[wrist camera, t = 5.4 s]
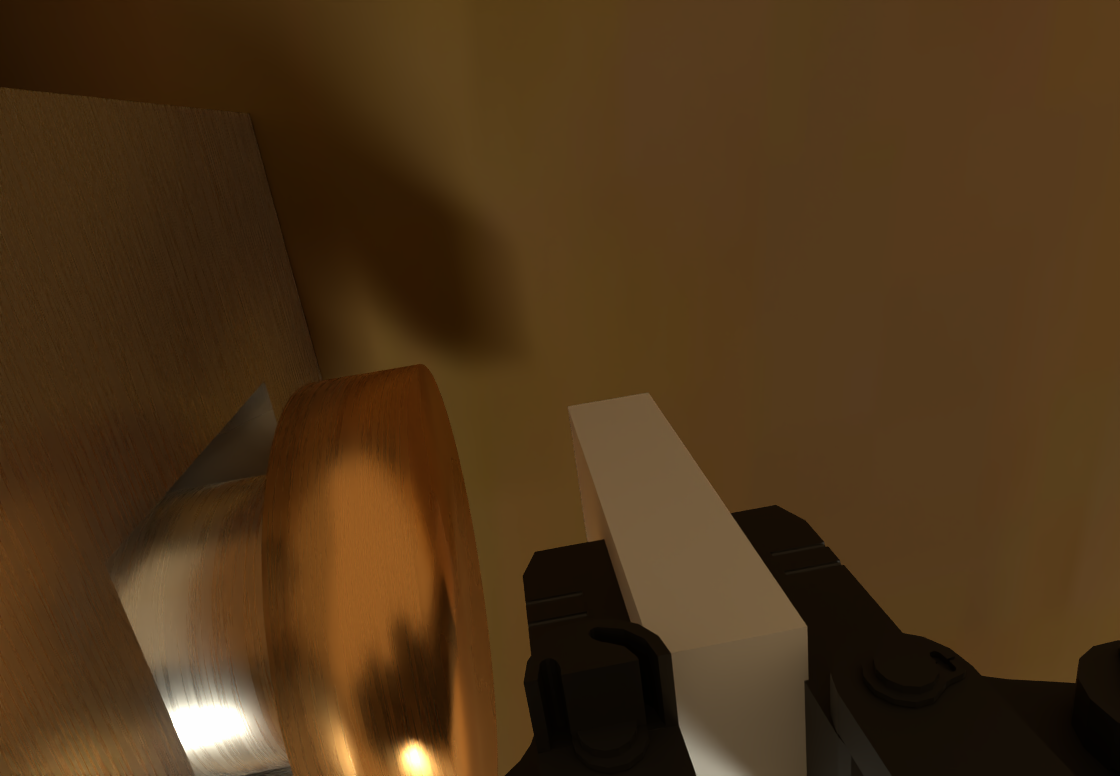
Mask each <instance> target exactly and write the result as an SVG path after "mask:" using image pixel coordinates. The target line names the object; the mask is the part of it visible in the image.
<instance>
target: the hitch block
mask: <svg viewBox="0 0 1120 776" xmlns="http://www.w3.org/2000/svg"><path fill="white" fill-rule="evenodd" d="M317 381H322V378H321V374H320V371H319V367H318V363H317V360H316V356H315V352H314V349H313V345H312V341H311V338H310V334H309V330H308V327H307V323H306V319H305V316H304V312H303V309H302V305H301V301H300V298H299V294H298V290H297V287H296V283H295V279H294V276H293V272H292V268H291V265H290V261H289V258H288V254H287V250H286V247H285V243H284V239H283V236H282V232H281V228H280V225H279V221H278V217H277V214H276V210H275V207H274V203H273V199H272V196H271V192H270V188H269V185H268V181H267V177H266V174H265V170H264V166H263V163H262V159H261V156H260V152H259V148H258V145H257V141H256V137H255V134H254V130H253V126H252V123H251V119H250V115H249V114H248V113H239V112H229V111H220V110H210V109H201V108H191V107H182V106H172V105H163V104H154V103H144V102H135V101H125V100H116V99H106V98H97V97H87V96H78V95H68V94H59V93H50V92H40V91H31V90H21V89H12V88H2V87H0V776H195V773H194V771H193V769H192V766H191V764H190V762H189V759H188V757H187V755H186V752H185V750H184V748H183V745H182V743H181V741H180V738H179V736H178V734H177V731H176V729H175V727H174V724H173V722H172V720H171V717H170V715H169V713H168V710H167V708H166V706H165V703H164V701H163V699H162V696H161V694H160V692H159V689H158V687H157V685H156V682H155V680H154V678H153V675H152V673H151V671H150V668H149V666H148V664H147V661H146V659H145V657H144V654H143V652H142V650H141V647H140V645H139V643H138V640H137V638H136V636H135V633H134V631H133V629H132V626H131V624H130V622H129V619H128V617H127V615H126V612H125V610H124V608H123V605H122V603H121V601H120V598H119V596H118V594H117V591H116V589H115V587H114V584H113V582H112V580H111V577H110V575H109V573H108V570H107V568H106V566H105V562H106V561H107V560H108V558H109V557H110V556H111V555H112V554H113V553H114V552H115V550H116V549H117V548H118V547H119V546H120V545H121V544H122V542H123V541H124V540H125V539H126V538H127V537H128V536H129V534H130V533H131V532H132V531H133V530H134V529H135V528H136V527H137V525H138V524H139V523H140V522H141V521H142V520H143V519H144V517H145V516H146V515H147V514H148V513H149V512H150V511H151V509H152V508H153V507H154V506H155V505H156V504H157V503H158V501H159V500H160V499H161V498H162V497H163V496H164V495H165V494H166V492H169V491H175V490H181V489H186V488H192V487H198V486H204V485H209V484H215V483H221V482H227V481H232V480H238V479H244V478H249V477H255V476H261V475H266V474H267V467H268V461H269V455H270V450H271V446H272V442H273V438H274V434H275V430H276V427H277V424H278V421H279V419H280V416H281V413H282V411H283V408H284V407H285V405H286V403H287V401H288V400H289V398H290V396H291V395H292V394H293V393H294V392H295V391H296V390H297V389H298V388H299V387H300V386H302V385H304V384H306V383H311V382H317ZM242 776H293V773H292V770H291V767H290V766H288V767H283V768H277V769H272V770H267V771H262V772H257V773H252V774H247V775H242Z"/></svg>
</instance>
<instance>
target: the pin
mask: <svg viewBox="0 0 1120 776" xmlns="http://www.w3.org/2000/svg"><path fill="white" fill-rule="evenodd" d="M105 566H106V568H107V570H108V573H109V575H110V577H111V580H112V582H113V584H114V587H115V589H116V591H117V594H118V596H119V598H120V601H121V603H122V605H123V608H124V610H125V612H126V615H127V617H128V619H129V622H130V624H131V626H132V629H133V631H134V633H135V636H136V638H137V640H138V643H139V645H140V647H141V650H142V652H143V654H144V657H145V659H146V661H147V664H148V666H149V668H150V671H151V673H152V675H153V678H154V680H155V682H156V685H157V687H158V689H159V692H160V694H161V696H162V699H163V701H164V703H165V706H166V708H167V710H168V713H169V715H170V717H171V720H172V722H173V724H174V727H175V729H176V731H177V734H178V736H179V738H180V741H181V743H182V745H183V748H184V750H185V752H186V755H187V757H188V759H189V762H190V764H191V766H192V769H193V771H194V773H195V776H242V775H247V774H252V773H257V772H262V771H267V770H272V769H277V768H283V767H288V766H290V767H291V770H292V773H293V776H498V753H497V725H496V709H495V695H494V683H493V672H492V661H491V651H490V642H489V633H488V625H487V617H486V609H485V602H484V594H483V587H482V580H481V573H480V567H479V560H478V554H477V548H476V542H475V536H474V530H473V525H472V519H471V514H470V508H469V503H468V498H467V493H466V488H465V483H464V479H463V474H462V470H461V465H460V461H459V456H458V452H457V448H456V444H455V440H454V436H453V433H452V429H451V425H450V422H449V418H448V415H447V411H446V408H445V405H444V402H443V399H442V396H441V394H440V391H439V389H438V386H437V384H436V382H435V379H434V377H433V375H432V374H431V372H430V371H429V369H428V368H427V367H426V366H425V365H423V364H418V365H412V366H406V367H400V368H394V369H388V370H382V371H376V372H370V373H364V374H358V375H352V376H346V377H340V378H335V379H329V380H323V381H317V382H311V383H306V384H304V385H302V386H300V387H299V388H298V389H297V390H296V391H295V392H294V393H293V394H292V395H291V396H290V398H289V400H288V401H287V403H286V405H285V407H284V408H283V411H282V413H281V416H280V419H279V421H278V424H277V427H276V430H275V434H274V438H273V442H272V446H271V450H270V455H269V461H268V467H267V474H266V475H261V476H255V477H249V478H244V479H238V480H232V481H227V482H221V483H215V484H209V485H204V486H198V487H192V488H186V489H181V490H175V491H169V492H166V494H165V495H164V496H163V497H162V498H161V499H160V500H159V501H158V503H157V504H156V505H155V506H154V507H153V508H152V509H151V511H150V512H149V513H148V514H147V515H146V516H145V517H144V519H143V520H142V521H141V522H140V523H139V524H138V525H137V527H136V528H135V529H134V530H133V531H132V532H131V533H130V534H129V536H128V537H127V538H126V539H125V540H124V541H123V542H122V544H121V545H120V546H119V547H118V548H117V549H116V550H115V552H114V553H113V554H112V555H111V556H110V557H109V558H108V560H107V561H106V562H105Z"/></svg>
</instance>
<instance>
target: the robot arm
mask: <svg viewBox="0 0 1120 776" xmlns="http://www.w3.org/2000/svg"><path fill="white" fill-rule="evenodd" d="M568 413H569V419H570V426H571V433H572V440H573V447H574V453H575V460H576V467H577V474H578V481H579V487H580V494H581V501H582V508H583V515H584V522H585V528H586V535H587V539H588V542H586V543H581V544H575V545H570V546H564V547H559V548H554V549H548V550H543V551H537V552H535V553H534V555H533V557H532V559H531V561H530V563H529V565H528V567H527V569H526V571H525V573H524V575H523V582H524V591H525V601H526V610H527V619H528V626H529V638H530V647H531V657H530V658H529V660H528V661H527V666H526V672H525V678H524V687H525V692H526V697H527V702H528V707H529V712H530V717H531V722H532V727H533V732H534V737H533V740H532V743H531V745H530V747H529V748H528V750H527V751H526V753H525V754H524V756H523V757H522V759H521V760H520V761H519V762H518V763H517V764H516V765H515V766H514V767H513V768H512V769H511V770H510V771H509V772H508V773H507V774H506V775H505V776H1120V640H1118V641H1113V642H1109V643H1105V644H1101V645H1097V646H1093V647H1092V648H1091V649H1090V650H1089V651H1087V652H1086V653H1085V654H1084V655H1083V656H1082V657H1081V658H1080V659H1079V664H1078V671H1077V678H1076V683H1064V682H1047V681H1029V680H1011V679H1001V678H994V677H986V676H981V675H980V674H979V673H978V672H977V670H976V669H975V668H974V667H973V666H972V665H971V664H969V663H968V662H967V661H965V660H964V659H963V658H962V657H960V656H959V655H958V654H956V653H955V652H954V651H953V650H951V649H950V648H948V647H945V646H943V645H941V644H938V643H936V642H934V641H932V640H929V639H927V638H925V637H921V636H916V635H910V634H905V633H902V632H901V630H900V629H899V628H898V627H897V626H896V625H895V624H894V622H893V621H892V620H891V619H890V618H889V617H888V615H887V614H886V613H885V612H884V611H883V610H882V608H881V607H880V606H879V605H878V604H877V603H876V602H875V600H874V599H873V598H872V597H871V596H870V595H869V593H868V592H867V591H866V590H865V589H864V588H863V586H862V585H861V584H860V583H859V582H858V581H857V580H856V578H855V577H854V576H853V575H852V574H851V573H850V571H849V570H848V569H847V568H846V567H845V566H844V565H841V563H840V560H839V559H838V558H837V556H836V555H835V554H834V553H833V552H832V551H831V549H830V548H829V547H825V544H824V541H823V540H822V539H821V538H820V537H819V536H818V534H817V533H816V532H815V531H814V530H813V529H812V527H811V526H810V525H809V524H808V523H807V522H806V521H805V520H803V519H802V518H800V517H798V516H796V515H794V514H792V513H790V512H788V511H786V510H784V509H783V508H781V507H779V506H777V505H773V506H768V507H762V508H757V509H751V510H746V511H741V512H735V513H730V512H729V511H728V509H727V508H726V506H725V505H724V503H723V502H722V500H721V499H720V497H719V496H718V494H717V493H716V491H715V490H714V489H713V487H712V486H711V484H710V483H709V481H708V480H707V478H706V477H705V475H704V474H703V472H702V471H701V469H700V468H699V466H698V465H697V464H696V462H695V461H694V459H693V458H692V456H691V455H690V453H689V452H688V450H687V449H686V447H685V446H684V444H683V443H682V441H681V440H680V439H679V437H678V436H677V434H676V433H675V431H674V430H673V428H672V427H671V425H670V424H669V422H668V421H667V419H666V418H665V416H664V415H663V414H662V412H661V411H660V409H659V408H658V406H657V405H656V403H655V402H654V400H653V399H652V397H651V396H650V394H649V393H643V394H638V395H632V396H626V397H620V398H615V399H609V400H603V401H597V402H591V403H586V404H580V405H574V406H568Z"/></svg>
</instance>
